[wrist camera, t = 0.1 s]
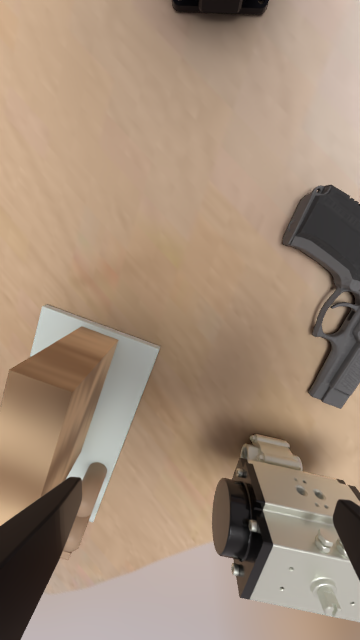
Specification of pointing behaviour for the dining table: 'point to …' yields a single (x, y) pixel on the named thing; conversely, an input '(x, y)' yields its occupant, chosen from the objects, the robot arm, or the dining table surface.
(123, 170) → the dining table surface
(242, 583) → the pneumatic valve
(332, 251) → the handgun
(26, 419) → the brown wooden block
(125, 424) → the panel
